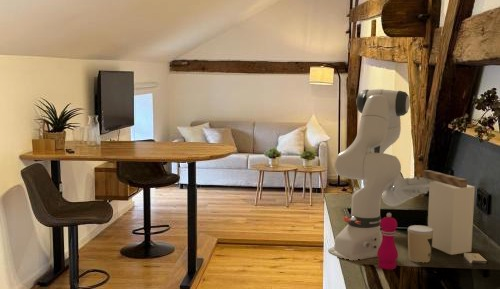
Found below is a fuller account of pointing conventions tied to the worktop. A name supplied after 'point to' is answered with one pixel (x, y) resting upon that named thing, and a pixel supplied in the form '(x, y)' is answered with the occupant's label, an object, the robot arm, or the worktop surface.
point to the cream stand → (451, 217)
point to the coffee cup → (420, 243)
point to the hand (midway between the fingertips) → (426, 177)
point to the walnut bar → (445, 178)
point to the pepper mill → (387, 243)
